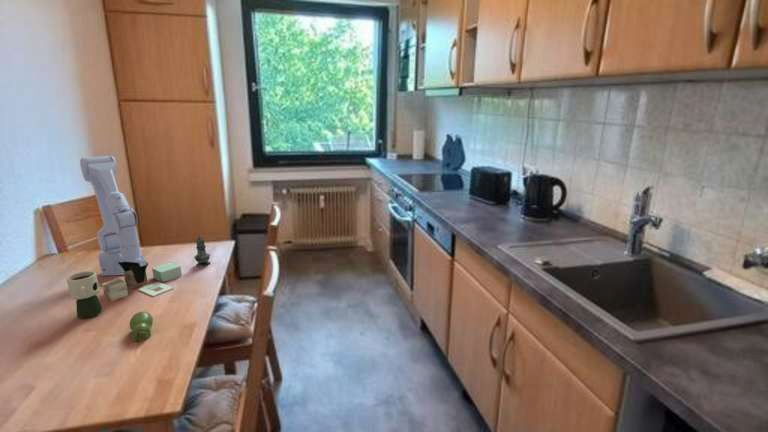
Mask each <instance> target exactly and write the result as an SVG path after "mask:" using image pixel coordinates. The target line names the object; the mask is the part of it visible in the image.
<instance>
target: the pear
mask: <svg viewBox="0 0 768 432" xmlns="http://www.w3.org/2000/svg"><path fill="white" fill-rule="evenodd" d="M153 321H154V320H153V315H151V313H150V312H148V311H138V312H136V313H135V314H133V316H132V317H131V318H130V321H129V328H130V330H131V339H132V340H133V342H140V341H145V340H148V339H149V338H150V337H151V336H152V332H151V328H152V325H153V323H154V322H153Z"/></svg>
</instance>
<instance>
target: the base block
mask: <svg viewBox="0 0 768 432" xmlns="http://www.w3.org/2000/svg"><path fill="white" fill-rule="evenodd" d="M151 269H152V270H151V271H152V276H153V278H154V279H156V280H158V281H159V282H161V283H164V282H167V281H170V280H173V279H177V278H179V277H182V275H183V274H182V268H181V266H180V265H178V264H176V263H174V262H168V263H164V264H161V265H157V266H154V267H152V268H151Z"/></svg>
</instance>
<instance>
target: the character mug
mask: <svg viewBox="0 0 768 432" xmlns="http://www.w3.org/2000/svg"><path fill="white" fill-rule="evenodd" d="M66 281H67V285H68V286H67V287H68V291H69V294H70V298H71V299H73V300H76V301H75V303H76V305H75V306H76V316H77V317H78V318H87V317H93V316H97V315H98V314H101V312H103V308H102V304H101V302H100V299H99V298H98V295H97V294H99V293H100V292H101V291H100V284H99V281H98V277H97V272H96V271H95V270H94V271H93V270H87V271H85V270H84V271H78V272H76V273H75V272H74V273H73V274H71V275H68V276H67V278H66Z"/></svg>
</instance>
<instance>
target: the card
mask: <svg viewBox="0 0 768 432" xmlns="http://www.w3.org/2000/svg"><path fill="white" fill-rule="evenodd" d="M171 290H174V287H172V286H170V285H168V284H165V283H164V282H161V281H157V282H154V283H151V284H149V285H146V286H144V287H141V288H138V291H139V292H142V293H144V294H146V295H148V296H151V297H153V298H155V297H157V296H159V295H160V294H161V295H162V294H164V293H166V292H168V291H169V292H170V291H171Z"/></svg>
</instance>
